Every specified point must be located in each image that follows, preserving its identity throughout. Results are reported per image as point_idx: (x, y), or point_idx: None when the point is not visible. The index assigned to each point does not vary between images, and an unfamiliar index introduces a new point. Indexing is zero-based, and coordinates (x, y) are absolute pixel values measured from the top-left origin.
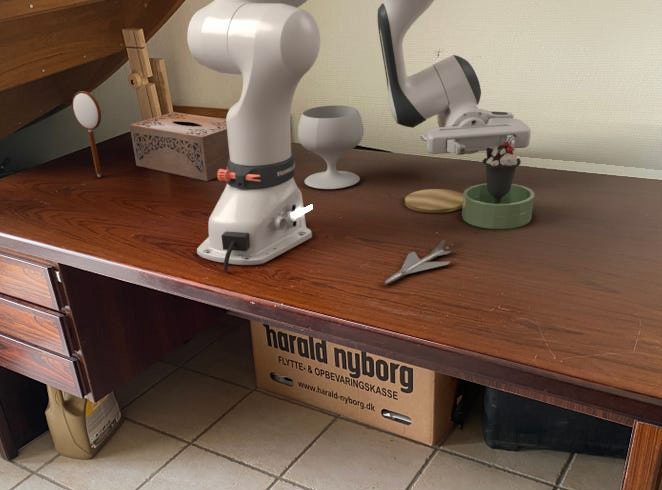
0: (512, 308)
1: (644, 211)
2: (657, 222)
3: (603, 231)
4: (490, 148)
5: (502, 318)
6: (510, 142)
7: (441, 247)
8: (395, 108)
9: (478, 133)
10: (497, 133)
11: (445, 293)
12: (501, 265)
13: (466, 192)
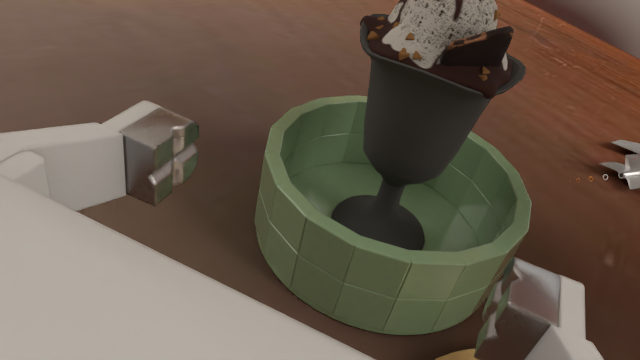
0: (547, 57)
1: (19, 53)
2: (84, 30)
3: (221, 66)
4: (486, 32)
5: (569, 55)
6: None
7: (630, 165)
8: None
9: (263, 309)
10: (73, 212)
11: (635, 109)
12: (509, 104)
13: (509, 232)
